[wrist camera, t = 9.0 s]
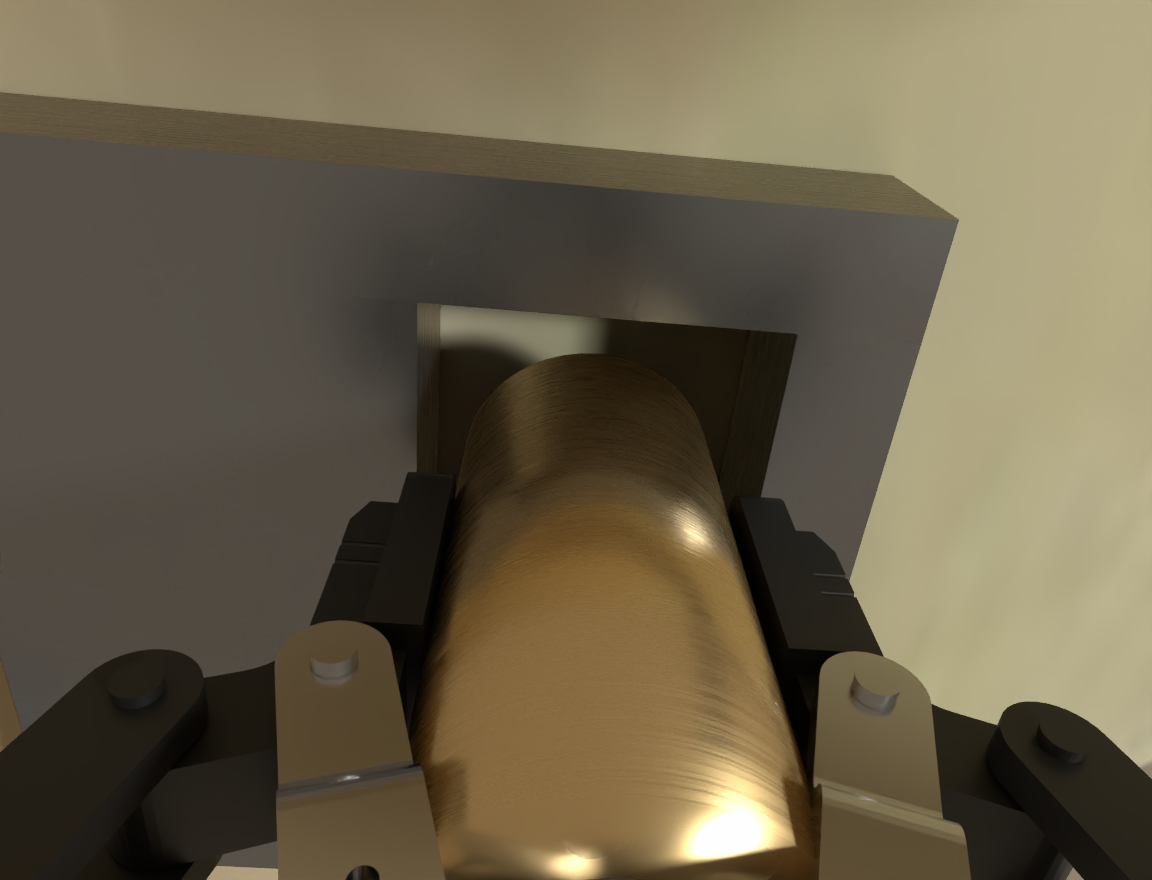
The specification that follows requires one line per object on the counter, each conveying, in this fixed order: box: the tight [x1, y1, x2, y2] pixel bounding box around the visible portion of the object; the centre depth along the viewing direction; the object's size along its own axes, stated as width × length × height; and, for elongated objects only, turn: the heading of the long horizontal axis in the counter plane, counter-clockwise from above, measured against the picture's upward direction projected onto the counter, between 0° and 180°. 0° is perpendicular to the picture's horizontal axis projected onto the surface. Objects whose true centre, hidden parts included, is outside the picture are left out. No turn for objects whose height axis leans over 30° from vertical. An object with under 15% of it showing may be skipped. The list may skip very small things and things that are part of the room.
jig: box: [0, 93, 959, 869], centre depth 18 cm, size 16×16×3 cm
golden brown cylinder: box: [408, 353, 814, 880], centre depth 12 cm, size 4×4×9 cm
